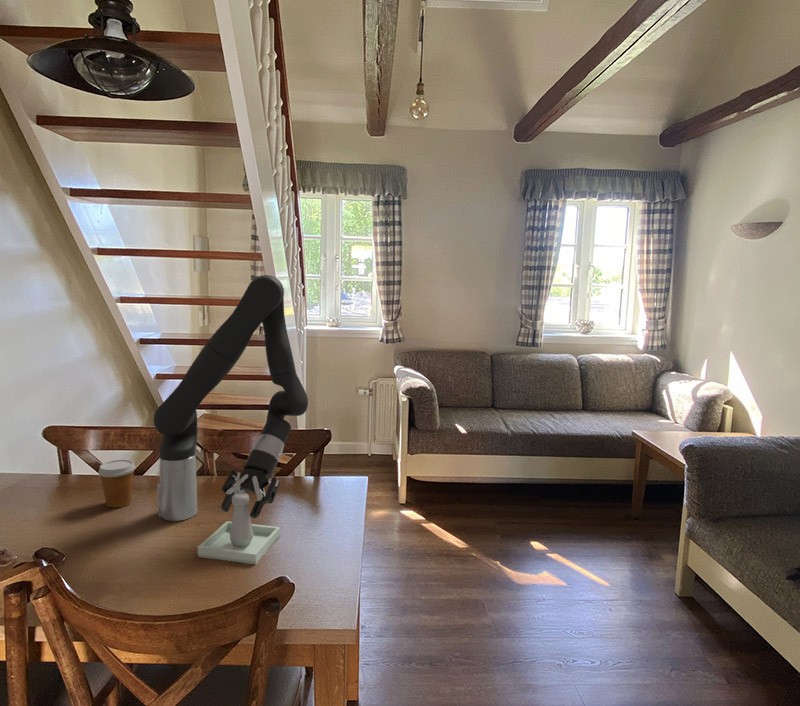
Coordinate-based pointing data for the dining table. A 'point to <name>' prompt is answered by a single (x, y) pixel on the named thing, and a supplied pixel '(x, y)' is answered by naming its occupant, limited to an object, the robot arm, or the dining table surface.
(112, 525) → the dining table surface
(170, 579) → the dining table surface
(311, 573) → the dining table surface
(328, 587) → the dining table surface
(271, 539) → the tray
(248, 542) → the salt shaker
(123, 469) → the disposable coffee cup
